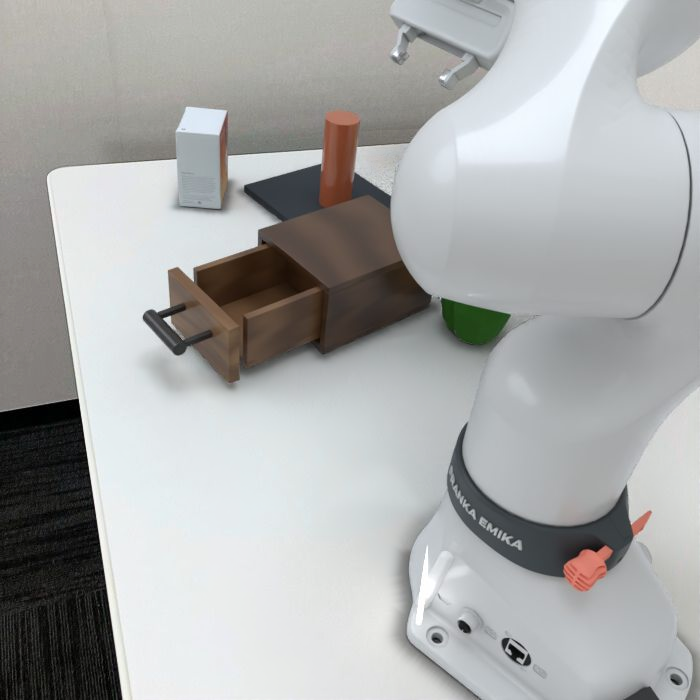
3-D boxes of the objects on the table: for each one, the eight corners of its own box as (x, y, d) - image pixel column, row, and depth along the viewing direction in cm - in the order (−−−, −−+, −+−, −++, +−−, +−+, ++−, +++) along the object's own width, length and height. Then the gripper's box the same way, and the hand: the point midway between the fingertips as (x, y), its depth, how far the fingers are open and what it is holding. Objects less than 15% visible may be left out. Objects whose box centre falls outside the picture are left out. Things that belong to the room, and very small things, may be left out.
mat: (427, 227, 104) (428, 220, 103) (333, 261, 95) (334, 254, 95) (335, 165, 115) (335, 159, 114) (243, 191, 106) (243, 184, 106)
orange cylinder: (357, 205, 104) (367, 120, 97) (332, 213, 102) (339, 127, 94) (337, 191, 107) (345, 107, 99) (312, 199, 104) (318, 114, 97)
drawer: (189, 401, 73) (186, 346, 69) (132, 337, 79) (126, 283, 75) (344, 334, 83) (350, 282, 79) (283, 281, 89) (285, 231, 85)
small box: (221, 210, 102) (220, 135, 95) (178, 206, 102) (174, 131, 95) (229, 181, 108) (228, 109, 101) (188, 178, 108) (185, 105, 101)
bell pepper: (523, 342, 86) (546, 268, 80) (464, 361, 83) (483, 285, 76) (479, 300, 92) (497, 228, 85) (421, 317, 88) (435, 242, 82)
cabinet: (323, 354, 82) (329, 288, 76) (256, 294, 89) (257, 229, 83) (429, 307, 90) (442, 244, 84) (360, 255, 97) (368, 194, 91)
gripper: (420, -53, 103) (356, 32, 104) (538, -9, 92) (465, 86, 93) (438, -20, 108) (377, 61, 109) (552, 25, 97) (482, 115, 98)
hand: (418, 73), depth 101 cm, fingers open, 8 cm apart
